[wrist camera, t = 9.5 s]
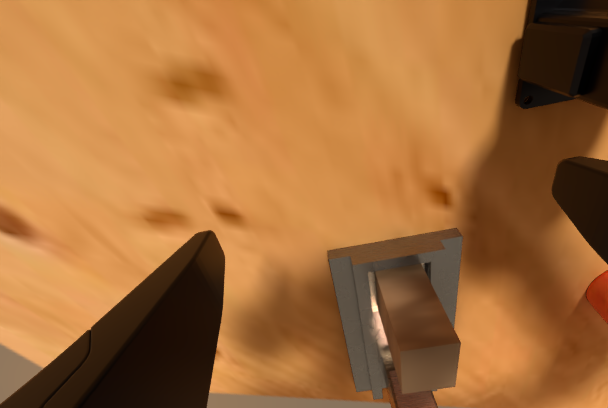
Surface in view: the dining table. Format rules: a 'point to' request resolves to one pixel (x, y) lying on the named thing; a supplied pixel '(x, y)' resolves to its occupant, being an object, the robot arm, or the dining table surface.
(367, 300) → the rail
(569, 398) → the dining table surface
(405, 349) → the tan wooden block
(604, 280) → the paper cup
